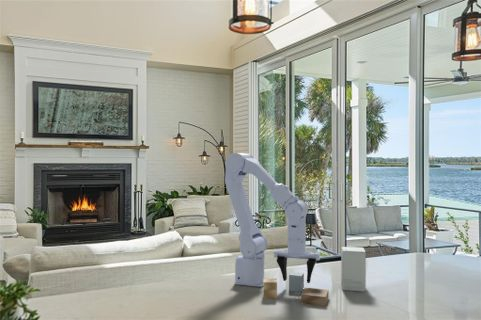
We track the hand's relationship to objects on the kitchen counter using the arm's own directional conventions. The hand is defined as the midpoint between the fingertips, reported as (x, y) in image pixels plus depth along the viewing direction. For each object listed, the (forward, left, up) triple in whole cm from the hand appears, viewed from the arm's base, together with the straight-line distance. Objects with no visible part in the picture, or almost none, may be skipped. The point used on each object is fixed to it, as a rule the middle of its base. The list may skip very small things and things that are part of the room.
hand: (296, 281), depth 135 cm
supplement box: (+17, +8, -3) cm, 19 cm away
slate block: (0, 0, -3) cm, 3 cm away
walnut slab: (+7, -9, -3) cm, 12 cm away
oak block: (-6, -10, -3) cm, 12 cm away
